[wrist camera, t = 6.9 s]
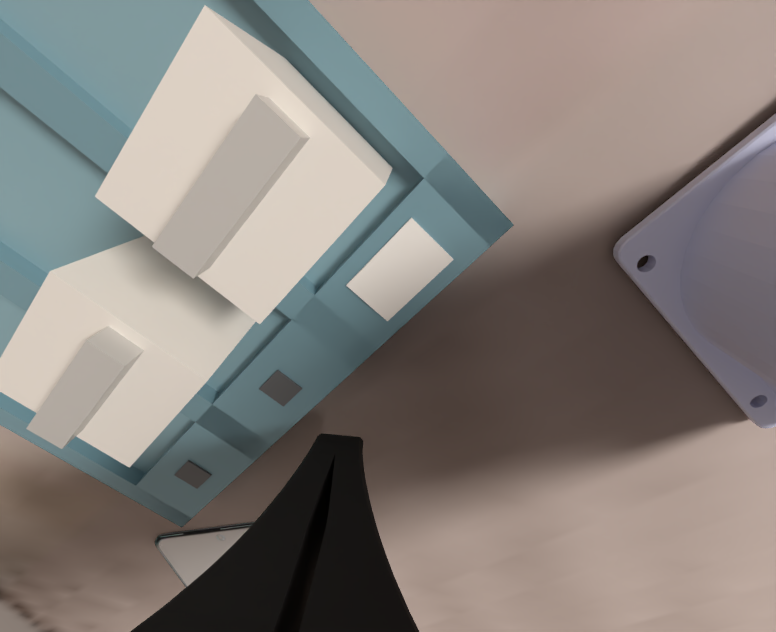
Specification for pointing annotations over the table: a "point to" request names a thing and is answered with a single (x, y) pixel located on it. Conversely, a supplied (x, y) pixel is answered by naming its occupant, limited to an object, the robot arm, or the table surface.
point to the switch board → (107, 230)
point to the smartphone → (197, 548)
